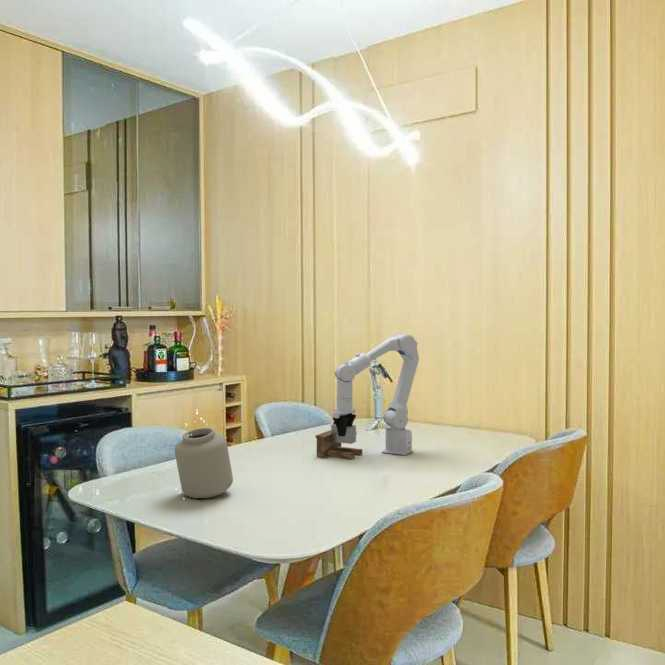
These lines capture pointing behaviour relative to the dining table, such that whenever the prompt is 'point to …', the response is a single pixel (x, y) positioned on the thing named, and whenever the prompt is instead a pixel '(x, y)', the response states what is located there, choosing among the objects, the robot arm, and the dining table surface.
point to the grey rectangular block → (349, 434)
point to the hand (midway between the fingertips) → (344, 435)
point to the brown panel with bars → (334, 448)
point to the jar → (203, 463)
